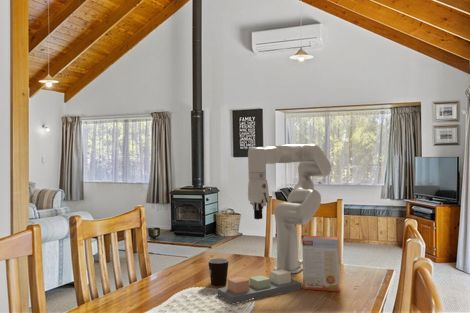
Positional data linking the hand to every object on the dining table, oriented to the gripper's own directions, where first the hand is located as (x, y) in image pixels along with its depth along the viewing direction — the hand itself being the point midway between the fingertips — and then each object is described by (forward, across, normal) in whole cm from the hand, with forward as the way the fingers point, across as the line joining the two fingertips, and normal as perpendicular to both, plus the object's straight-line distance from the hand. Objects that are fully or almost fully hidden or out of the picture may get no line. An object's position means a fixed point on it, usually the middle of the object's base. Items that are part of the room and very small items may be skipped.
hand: (258, 218), depth 187 cm
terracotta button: (+25, -13, +19) cm, 34 cm away
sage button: (+26, -13, +9) cm, 30 cm away
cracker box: (+27, -23, -14) cm, 38 cm away
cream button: (+25, -13, -1) cm, 28 cm away
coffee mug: (+27, +6, +16) cm, 32 cm away
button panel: (+26, -13, +9) cm, 31 cm away
